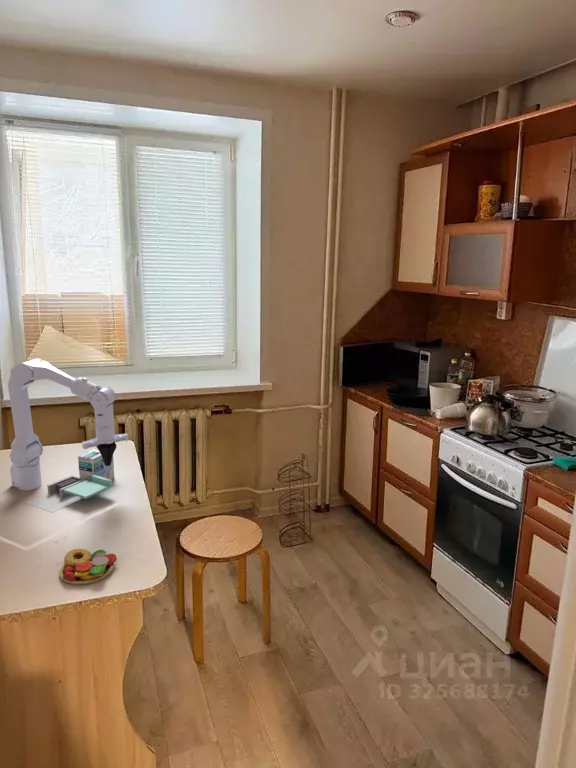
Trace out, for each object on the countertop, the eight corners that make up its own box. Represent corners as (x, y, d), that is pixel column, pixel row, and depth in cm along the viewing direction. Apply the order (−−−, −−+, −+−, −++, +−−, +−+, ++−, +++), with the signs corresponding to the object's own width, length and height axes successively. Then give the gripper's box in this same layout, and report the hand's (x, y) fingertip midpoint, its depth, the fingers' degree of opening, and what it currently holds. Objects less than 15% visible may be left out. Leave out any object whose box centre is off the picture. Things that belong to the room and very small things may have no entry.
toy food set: (69, 558, 141) (68, 546, 140) (120, 556, 142) (120, 545, 142) (52, 588, 128) (51, 576, 127) (109, 586, 129) (108, 574, 129)
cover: (86, 498, 166) (85, 491, 165) (63, 491, 170) (63, 484, 170) (112, 486, 175) (112, 480, 174) (90, 480, 179) (90, 473, 179)
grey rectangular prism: (57, 493, 176) (56, 484, 176) (72, 486, 182) (71, 478, 181) (62, 495, 175) (62, 486, 174) (78, 488, 180) (77, 480, 180)
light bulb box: (95, 489, 182) (93, 458, 180) (79, 485, 185) (76, 456, 182) (115, 477, 192) (113, 448, 190) (99, 474, 194) (97, 446, 192)
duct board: (24, 504, 170) (23, 493, 169) (72, 485, 185) (71, 474, 184) (52, 514, 163) (51, 503, 163) (99, 493, 179) (98, 482, 178)
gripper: (86, 432, 166) (89, 473, 169) (131, 424, 175) (133, 463, 178) (78, 427, 171) (81, 467, 174) (122, 419, 180) (125, 457, 183)
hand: (107, 465), depth 177 cm, fingers closed
